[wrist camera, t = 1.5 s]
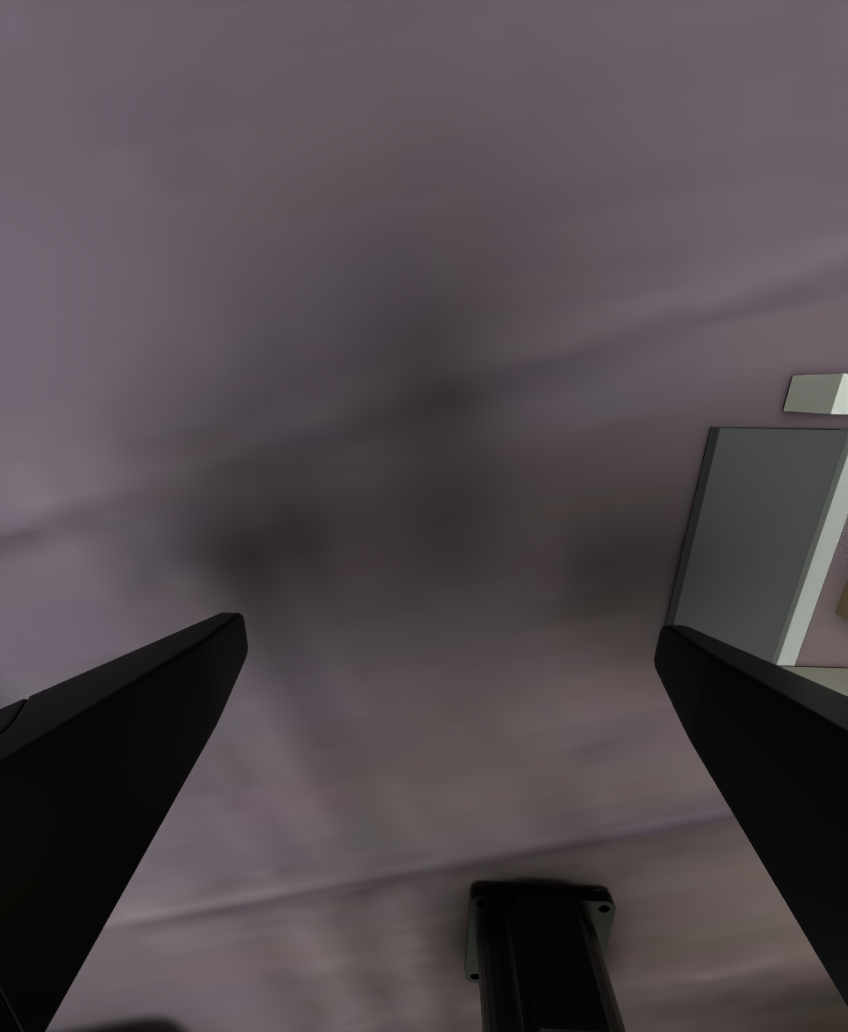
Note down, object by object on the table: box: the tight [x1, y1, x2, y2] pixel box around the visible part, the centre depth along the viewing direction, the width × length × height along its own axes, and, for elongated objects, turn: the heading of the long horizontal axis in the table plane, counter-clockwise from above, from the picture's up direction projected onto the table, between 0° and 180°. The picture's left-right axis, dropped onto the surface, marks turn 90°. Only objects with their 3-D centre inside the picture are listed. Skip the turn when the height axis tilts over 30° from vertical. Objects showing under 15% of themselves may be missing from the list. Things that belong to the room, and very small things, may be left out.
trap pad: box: [666, 427, 848, 666], centre depth 13 cm, size 8×4×1 cm, turn 179°
